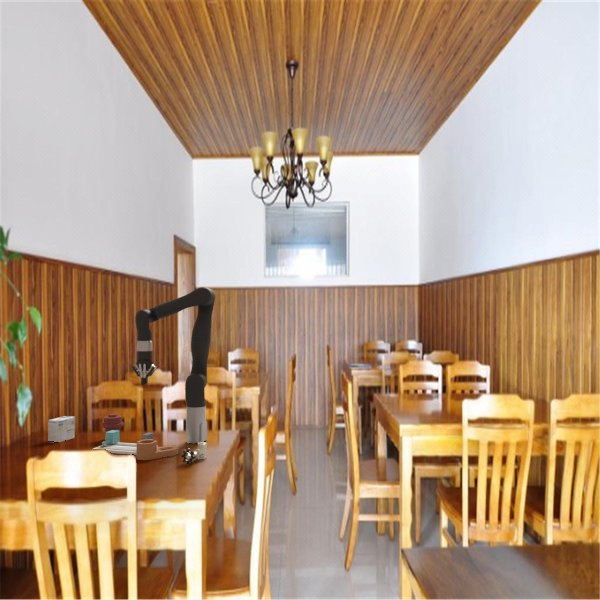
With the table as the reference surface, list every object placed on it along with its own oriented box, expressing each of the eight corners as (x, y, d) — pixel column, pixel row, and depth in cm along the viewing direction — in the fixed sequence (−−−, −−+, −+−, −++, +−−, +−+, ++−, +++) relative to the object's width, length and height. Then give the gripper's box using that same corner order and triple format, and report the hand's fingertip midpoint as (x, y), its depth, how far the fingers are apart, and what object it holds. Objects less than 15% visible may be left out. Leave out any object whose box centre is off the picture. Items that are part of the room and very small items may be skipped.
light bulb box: (64, 437, 247) (65, 415, 248) (75, 438, 245) (75, 416, 245) (47, 442, 237) (47, 419, 237) (57, 443, 235) (58, 420, 235)
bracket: (139, 461, 205) (140, 445, 205) (134, 457, 211) (134, 441, 212) (181, 455, 215) (181, 439, 215) (174, 450, 222) (174, 435, 222)
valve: (198, 456, 212) (181, 464, 201) (198, 441, 212) (181, 447, 201) (211, 458, 209) (194, 465, 198) (211, 442, 210) (194, 449, 199)
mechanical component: (107, 436, 247) (126, 437, 246) (97, 441, 237) (117, 442, 236) (108, 412, 248) (127, 412, 247) (98, 416, 238) (117, 416, 237)
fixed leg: (153, 445, 225) (153, 432, 226) (142, 450, 216) (142, 437, 217) (147, 444, 226) (148, 432, 226) (136, 449, 217) (136, 437, 217)
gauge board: (157, 447, 226) (157, 444, 226) (141, 455, 213) (141, 451, 213) (110, 444, 232) (110, 441, 232) (92, 451, 220) (92, 447, 220)
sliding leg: (119, 442, 230) (119, 430, 230) (106, 446, 221) (107, 435, 221) (112, 441, 231) (112, 430, 231) (99, 446, 222) (99, 434, 222)
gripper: (160, 349, 243) (160, 384, 243) (137, 349, 247) (136, 383, 246) (152, 350, 236) (152, 386, 235) (128, 350, 239) (127, 385, 239)
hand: (144, 385), depth 241 cm, fingers closed
